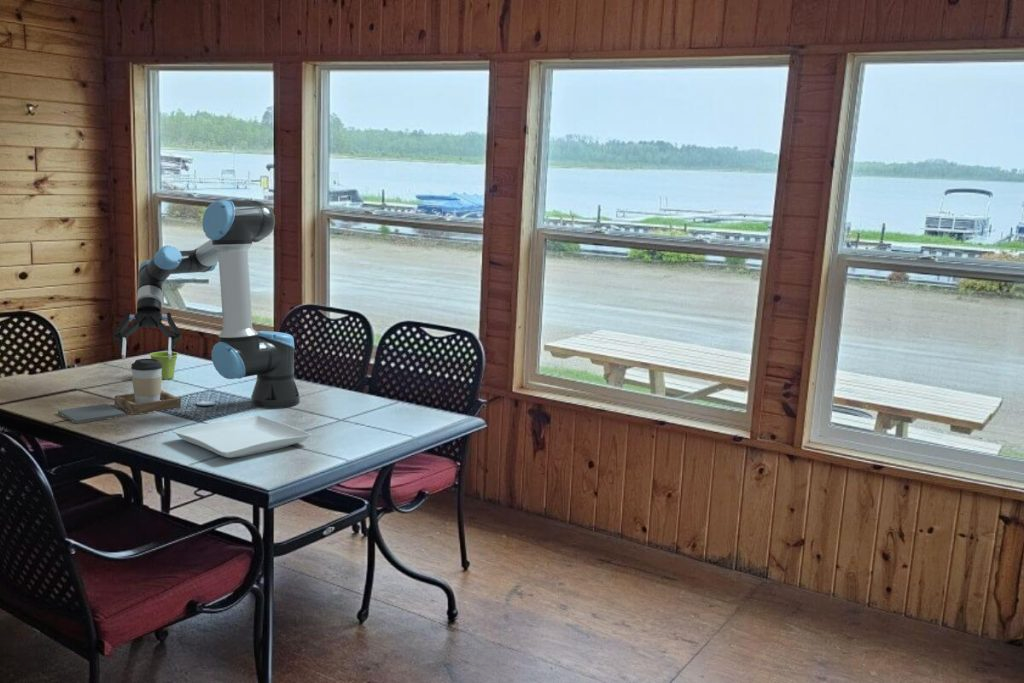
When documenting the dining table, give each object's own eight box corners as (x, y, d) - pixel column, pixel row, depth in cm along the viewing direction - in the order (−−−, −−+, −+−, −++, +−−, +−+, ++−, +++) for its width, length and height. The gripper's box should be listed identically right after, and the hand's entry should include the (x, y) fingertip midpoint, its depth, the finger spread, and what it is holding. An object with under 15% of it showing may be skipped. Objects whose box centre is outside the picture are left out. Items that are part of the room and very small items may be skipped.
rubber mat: (125, 416, 271) (124, 413, 270) (76, 423, 261) (75, 420, 260) (106, 406, 280) (105, 403, 280) (58, 413, 270) (58, 410, 270)
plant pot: (151, 375, 323) (150, 351, 322) (179, 374, 326) (178, 351, 325) (149, 381, 315) (148, 356, 313) (178, 380, 318) (177, 356, 316)
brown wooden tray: (180, 408, 283) (180, 398, 282) (134, 415, 272) (134, 405, 272) (160, 398, 292) (159, 389, 292) (114, 405, 282) (114, 395, 282)
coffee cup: (150, 401, 288) (149, 355, 286) (169, 406, 284) (168, 359, 281) (125, 407, 281) (124, 359, 278) (144, 412, 276) (143, 363, 274)
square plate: (313, 446, 252) (313, 432, 251) (224, 466, 231) (224, 451, 231) (258, 425, 269) (258, 412, 269) (171, 442, 249) (171, 428, 248)
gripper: (190, 309, 305) (189, 362, 294) (109, 309, 298) (105, 363, 287) (189, 296, 299) (188, 349, 288) (106, 295, 292) (102, 350, 281)
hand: (146, 356), depth 287 cm, fingers open, 13 cm apart
